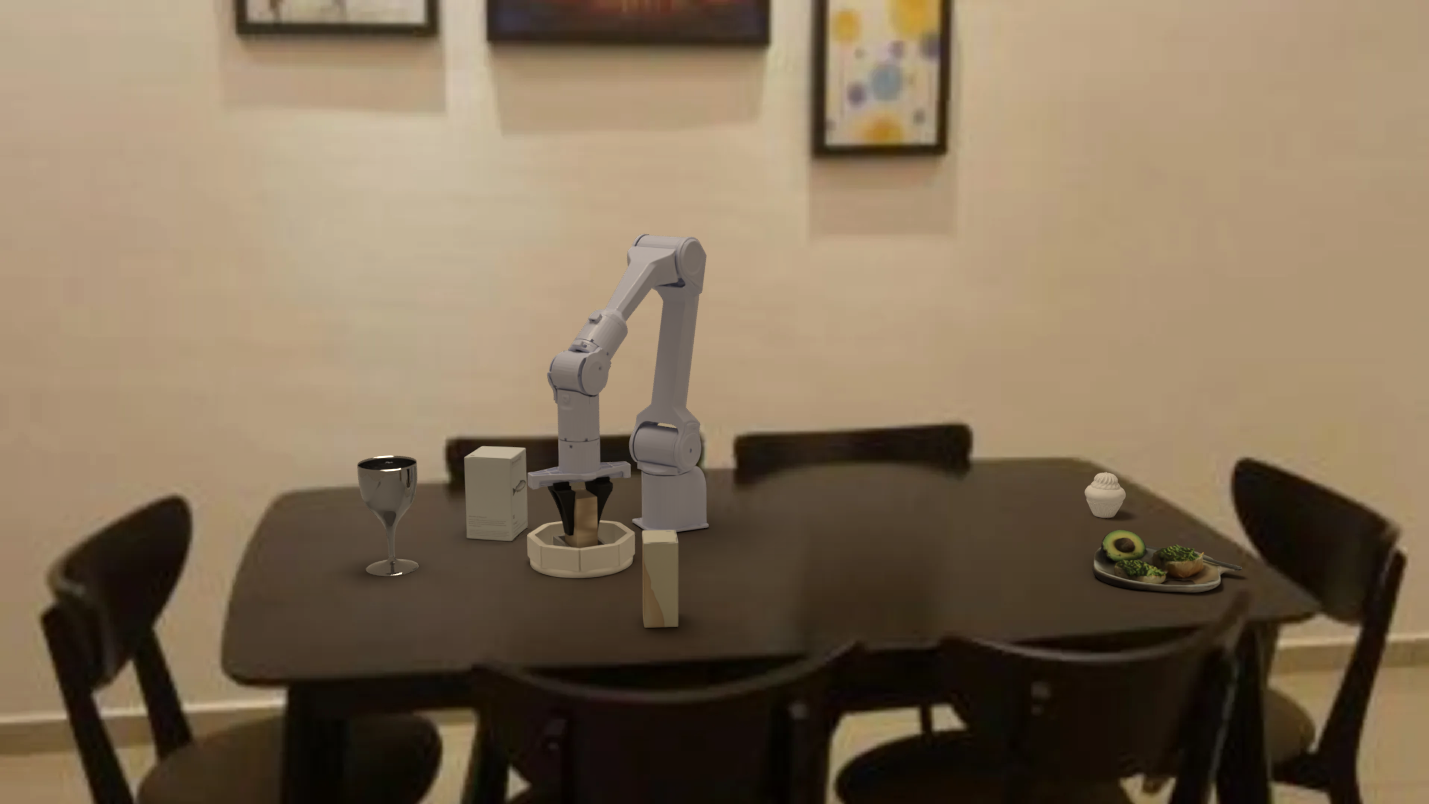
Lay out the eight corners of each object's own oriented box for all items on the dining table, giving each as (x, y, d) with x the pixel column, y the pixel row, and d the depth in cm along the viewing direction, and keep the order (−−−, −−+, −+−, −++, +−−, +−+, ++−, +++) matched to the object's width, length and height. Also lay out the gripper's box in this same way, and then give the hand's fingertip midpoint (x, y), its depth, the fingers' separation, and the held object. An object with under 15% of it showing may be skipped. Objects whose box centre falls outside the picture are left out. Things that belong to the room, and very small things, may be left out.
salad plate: (1237, 562, 194) (1240, 531, 193) (1245, 604, 177) (1248, 570, 176) (1095, 549, 200) (1097, 519, 199) (1089, 589, 183) (1091, 556, 182)
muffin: (1080, 518, 214) (1083, 474, 212) (1086, 508, 219) (1088, 465, 218) (1122, 522, 212) (1125, 478, 210) (1126, 512, 217) (1129, 469, 216)
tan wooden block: (585, 542, 196) (583, 488, 194) (597, 552, 191) (596, 496, 190) (565, 545, 194) (563, 490, 193) (577, 555, 190) (576, 499, 188)
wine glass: (432, 562, 193) (427, 458, 190) (402, 579, 186) (396, 472, 182) (383, 556, 195) (378, 453, 192) (351, 573, 188) (345, 467, 185)
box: (642, 613, 173) (641, 529, 171) (676, 612, 173) (676, 528, 171) (643, 629, 168) (643, 542, 166) (679, 628, 168) (678, 541, 166)
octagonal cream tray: (609, 540, 203) (609, 514, 202) (649, 568, 190) (648, 540, 189) (516, 553, 196) (515, 527, 196) (550, 584, 184) (549, 555, 183)
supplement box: (513, 542, 202) (510, 458, 199) (465, 539, 203) (462, 456, 201) (529, 527, 209) (527, 446, 206) (483, 524, 210) (480, 444, 208)
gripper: (538, 449, 183) (541, 547, 186) (638, 438, 189) (639, 532, 192) (521, 438, 189) (524, 533, 192) (619, 427, 195) (620, 519, 198)
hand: (580, 532), depth 192 cm, fingers closed on tan wooden block, 3 cm apart
